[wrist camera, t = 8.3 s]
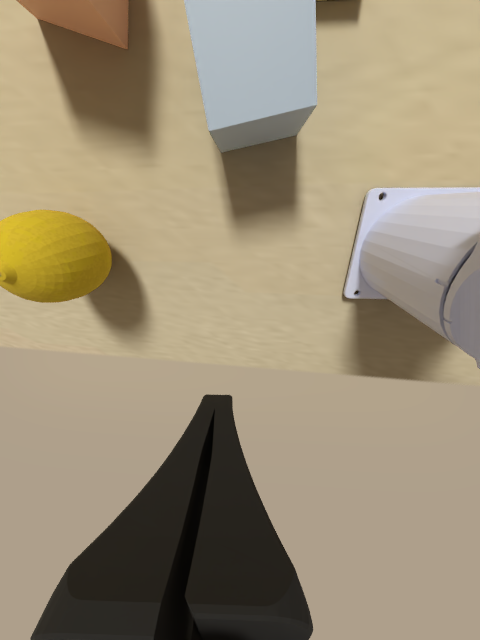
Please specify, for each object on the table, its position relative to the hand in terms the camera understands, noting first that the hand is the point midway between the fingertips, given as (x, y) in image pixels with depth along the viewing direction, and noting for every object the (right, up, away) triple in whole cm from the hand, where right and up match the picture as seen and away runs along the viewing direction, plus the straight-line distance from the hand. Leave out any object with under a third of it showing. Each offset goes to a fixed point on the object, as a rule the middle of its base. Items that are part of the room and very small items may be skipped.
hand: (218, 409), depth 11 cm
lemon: (-11, +11, +7) cm, 17 cm away
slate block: (+2, +18, +2) cm, 19 cm away
